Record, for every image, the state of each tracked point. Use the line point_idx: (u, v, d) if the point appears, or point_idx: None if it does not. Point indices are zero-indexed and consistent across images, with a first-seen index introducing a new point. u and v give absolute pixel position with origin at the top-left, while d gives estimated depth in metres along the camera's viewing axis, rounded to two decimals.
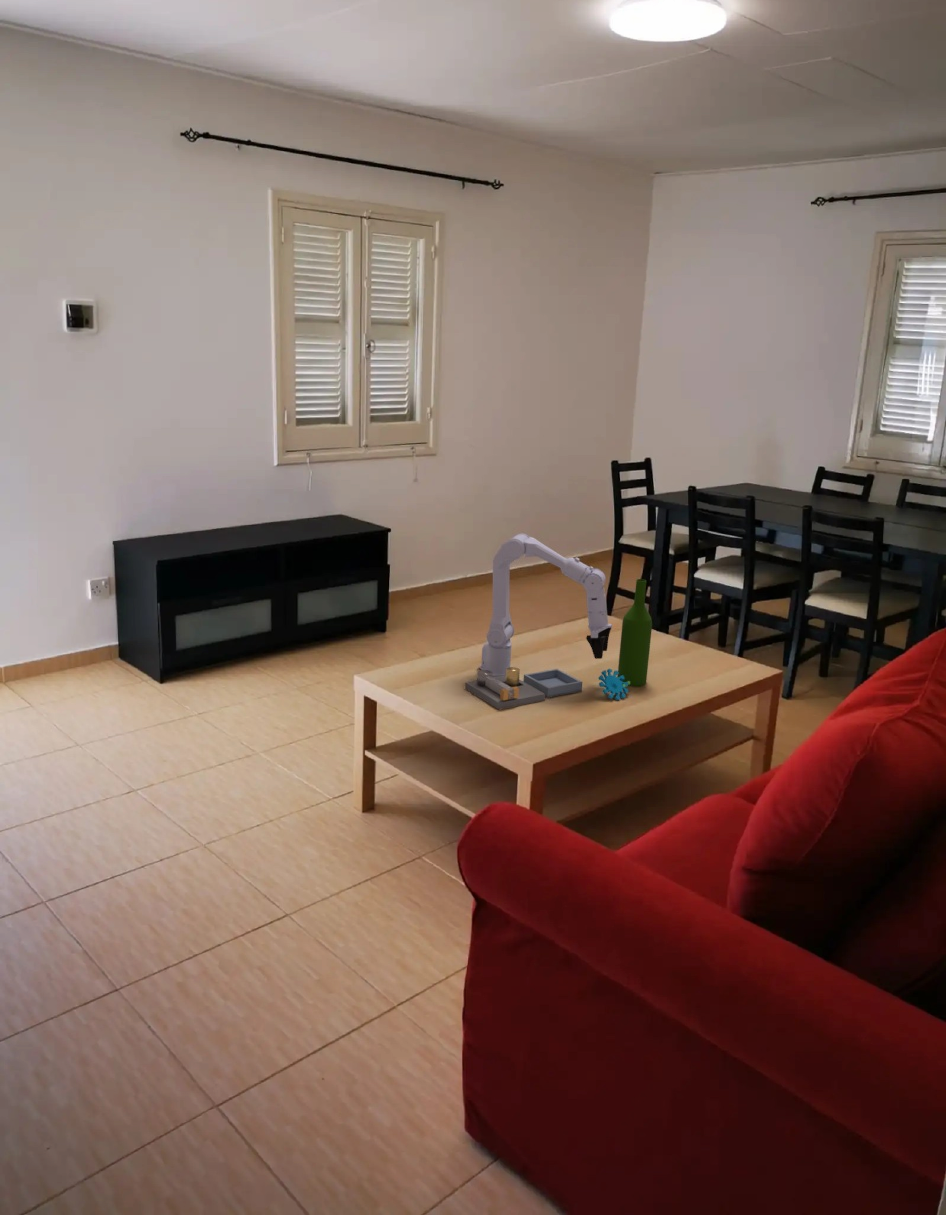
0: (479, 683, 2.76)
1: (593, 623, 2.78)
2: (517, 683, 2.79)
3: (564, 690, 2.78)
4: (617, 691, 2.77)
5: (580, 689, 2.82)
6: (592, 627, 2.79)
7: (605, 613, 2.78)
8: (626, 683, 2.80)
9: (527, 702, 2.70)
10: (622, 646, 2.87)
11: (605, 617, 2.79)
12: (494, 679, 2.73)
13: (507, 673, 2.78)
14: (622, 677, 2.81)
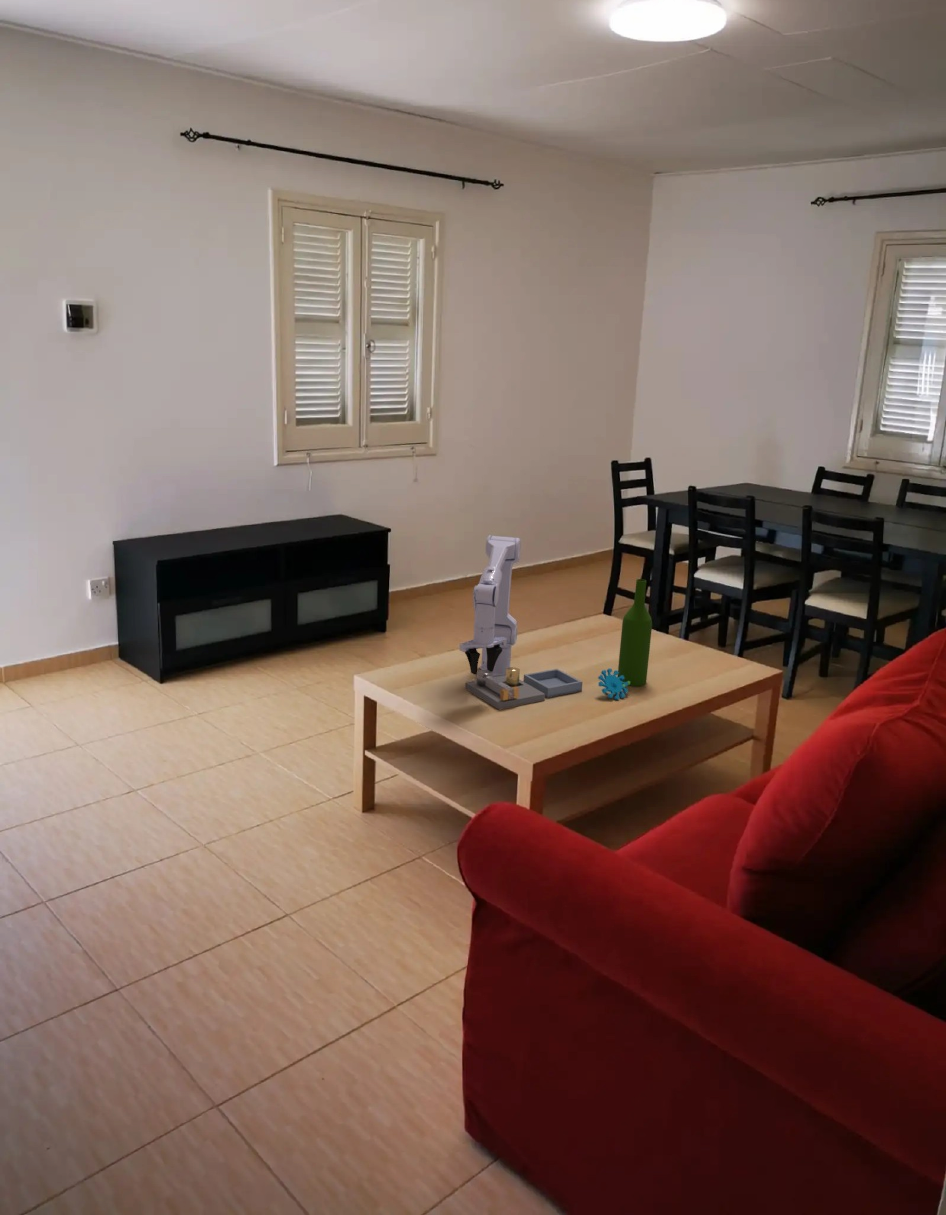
0: (479, 683, 2.76)
1: None
2: (517, 683, 2.79)
3: (564, 690, 2.78)
4: (617, 691, 2.77)
5: (580, 689, 2.82)
6: (473, 641, 2.64)
7: (486, 631, 2.61)
8: (626, 683, 2.80)
9: (527, 702, 2.70)
10: (622, 646, 2.87)
11: (485, 635, 2.61)
12: (494, 679, 2.73)
13: (507, 673, 2.78)
14: (622, 677, 2.81)
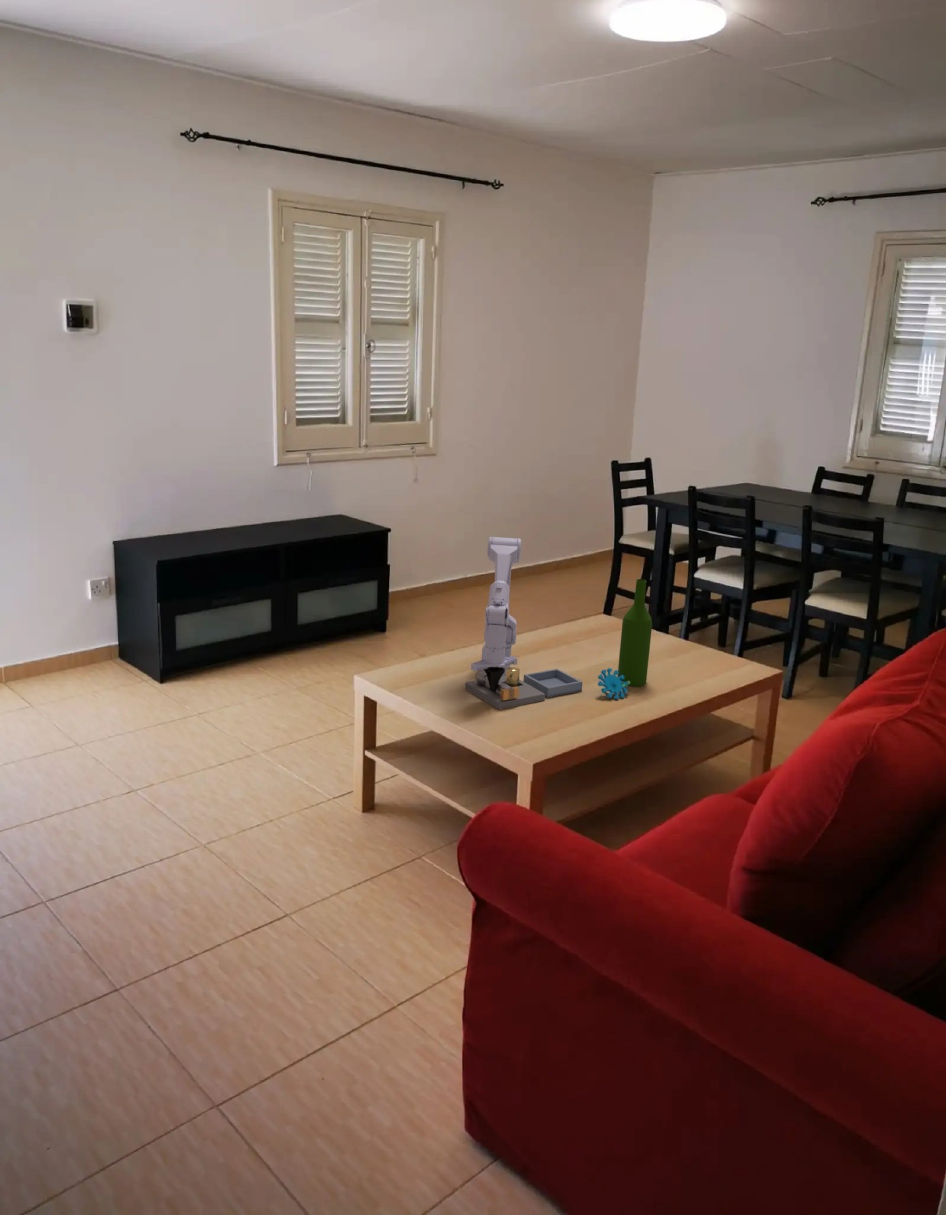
0: (479, 683, 2.76)
1: (485, 656, 2.67)
2: (517, 683, 2.79)
3: (564, 690, 2.78)
4: (616, 691, 2.77)
5: (580, 689, 2.82)
6: (484, 660, 2.68)
7: (497, 651, 2.65)
8: (626, 683, 2.80)
9: (527, 702, 2.70)
10: (622, 646, 2.87)
11: (496, 655, 2.65)
12: None
13: (507, 673, 2.78)
14: (622, 677, 2.81)
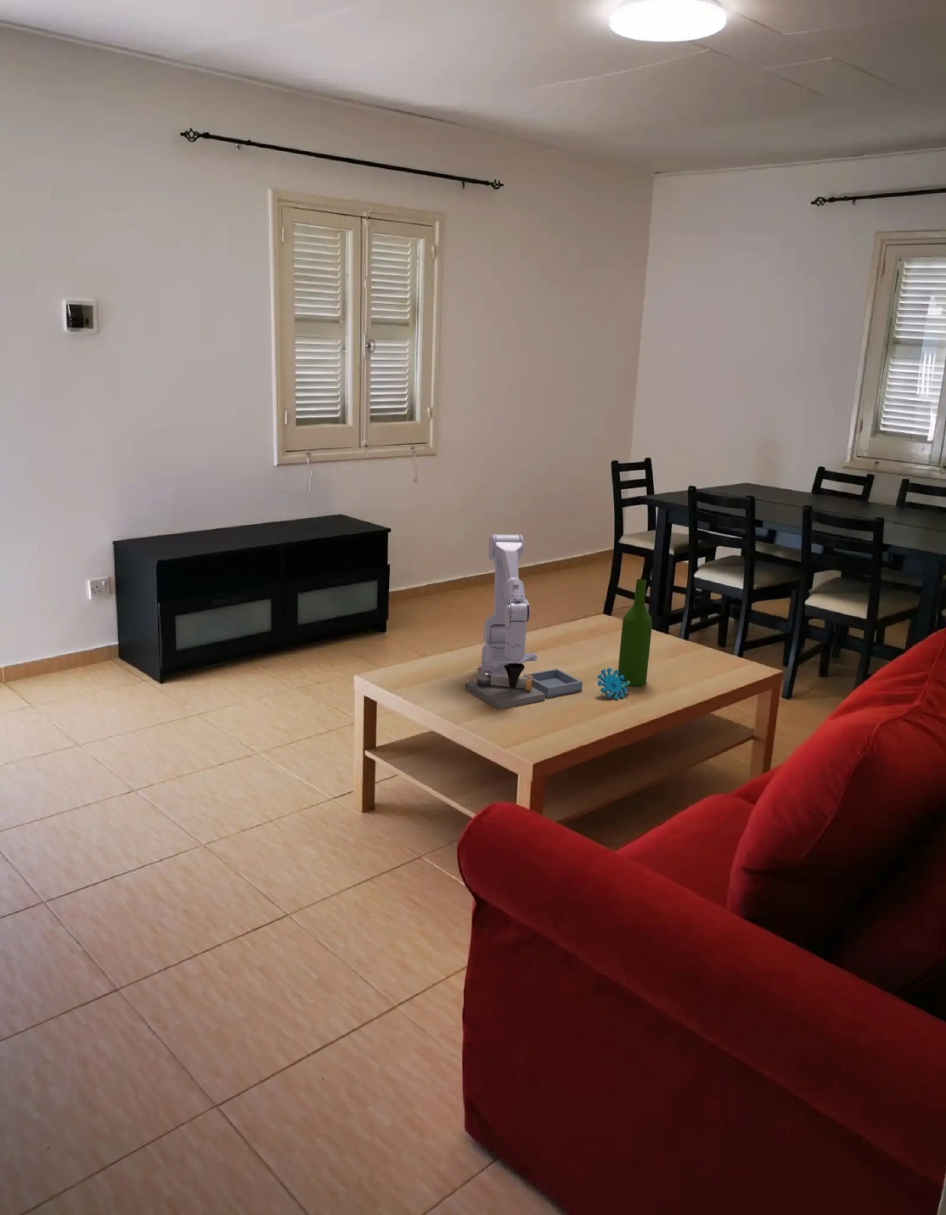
0: (485, 684, 2.76)
1: (505, 653, 2.71)
2: None
3: (564, 690, 2.78)
4: (616, 690, 2.78)
5: (580, 689, 2.82)
6: (504, 657, 2.71)
7: (517, 647, 2.68)
8: (626, 683, 2.81)
9: (527, 702, 2.70)
10: (622, 646, 2.87)
11: (516, 651, 2.68)
12: (501, 675, 2.77)
13: None
14: (622, 677, 2.81)
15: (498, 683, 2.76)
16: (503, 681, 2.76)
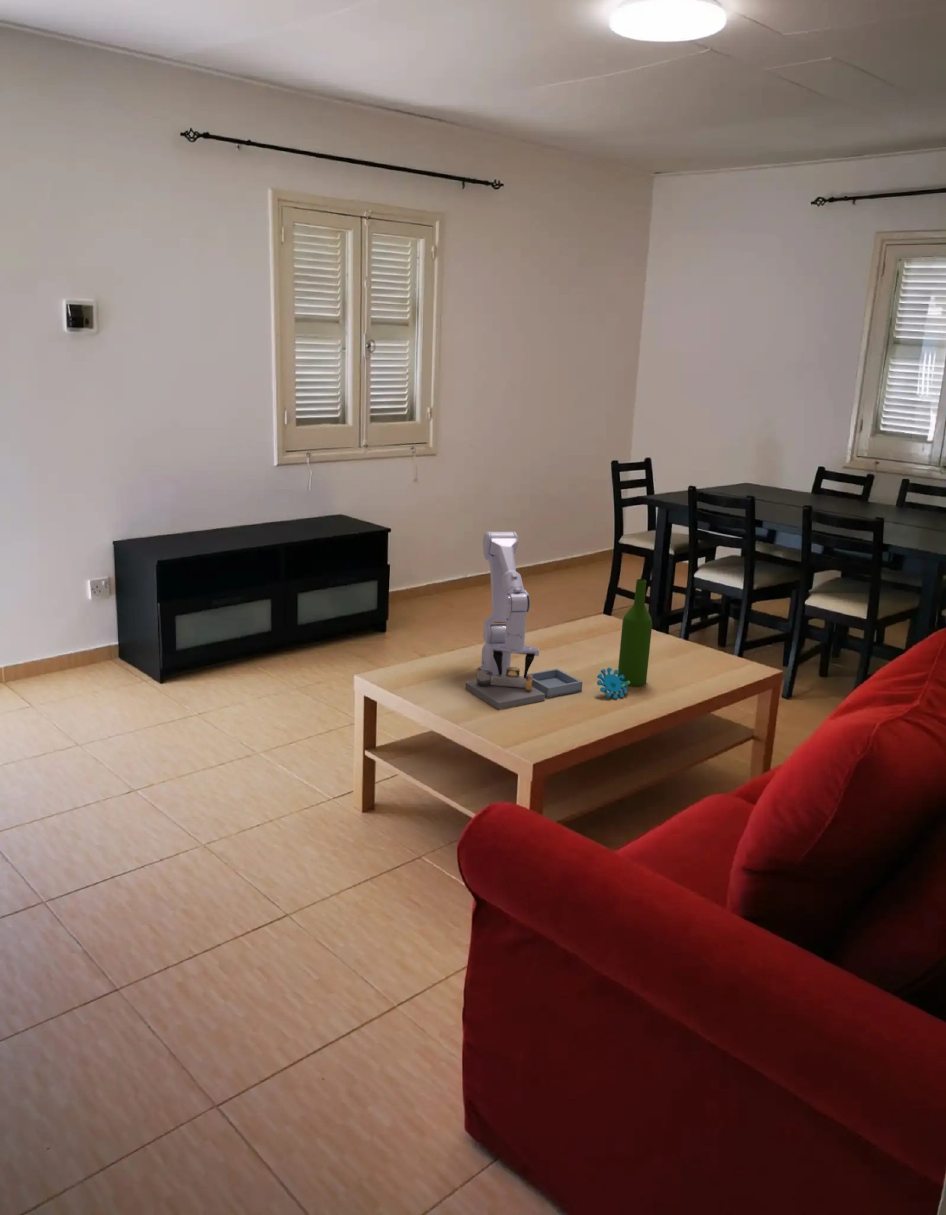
0: (485, 684, 2.76)
1: None
2: None
3: (564, 690, 2.78)
4: (615, 690, 2.78)
5: (580, 689, 2.82)
6: None
7: (510, 637, 2.74)
8: (626, 683, 2.81)
9: (527, 702, 2.70)
10: (622, 646, 2.87)
11: (510, 641, 2.74)
12: (501, 675, 2.77)
13: (507, 673, 2.78)
14: (622, 676, 2.81)
15: (498, 683, 2.77)
16: (503, 681, 2.76)
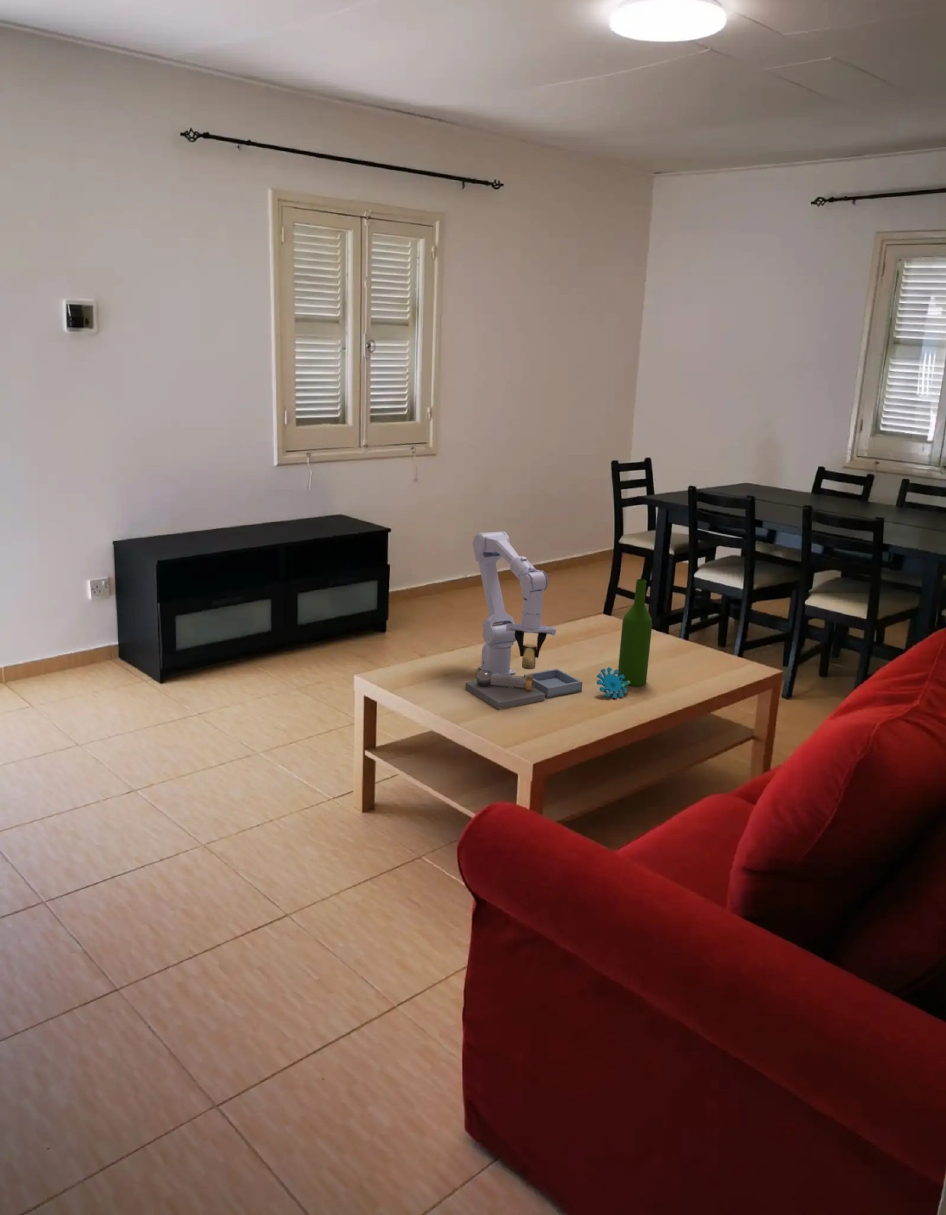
0: (485, 684, 2.76)
1: None
2: (534, 660, 2.78)
3: (564, 690, 2.78)
4: (615, 690, 2.78)
5: (580, 689, 2.82)
6: None
7: (527, 616, 2.73)
8: (625, 682, 2.81)
9: (527, 702, 2.70)
10: (622, 646, 2.87)
11: (526, 620, 2.74)
12: (501, 675, 2.77)
13: (524, 650, 2.77)
14: (622, 676, 2.81)
15: (498, 683, 2.77)
16: (503, 681, 2.76)
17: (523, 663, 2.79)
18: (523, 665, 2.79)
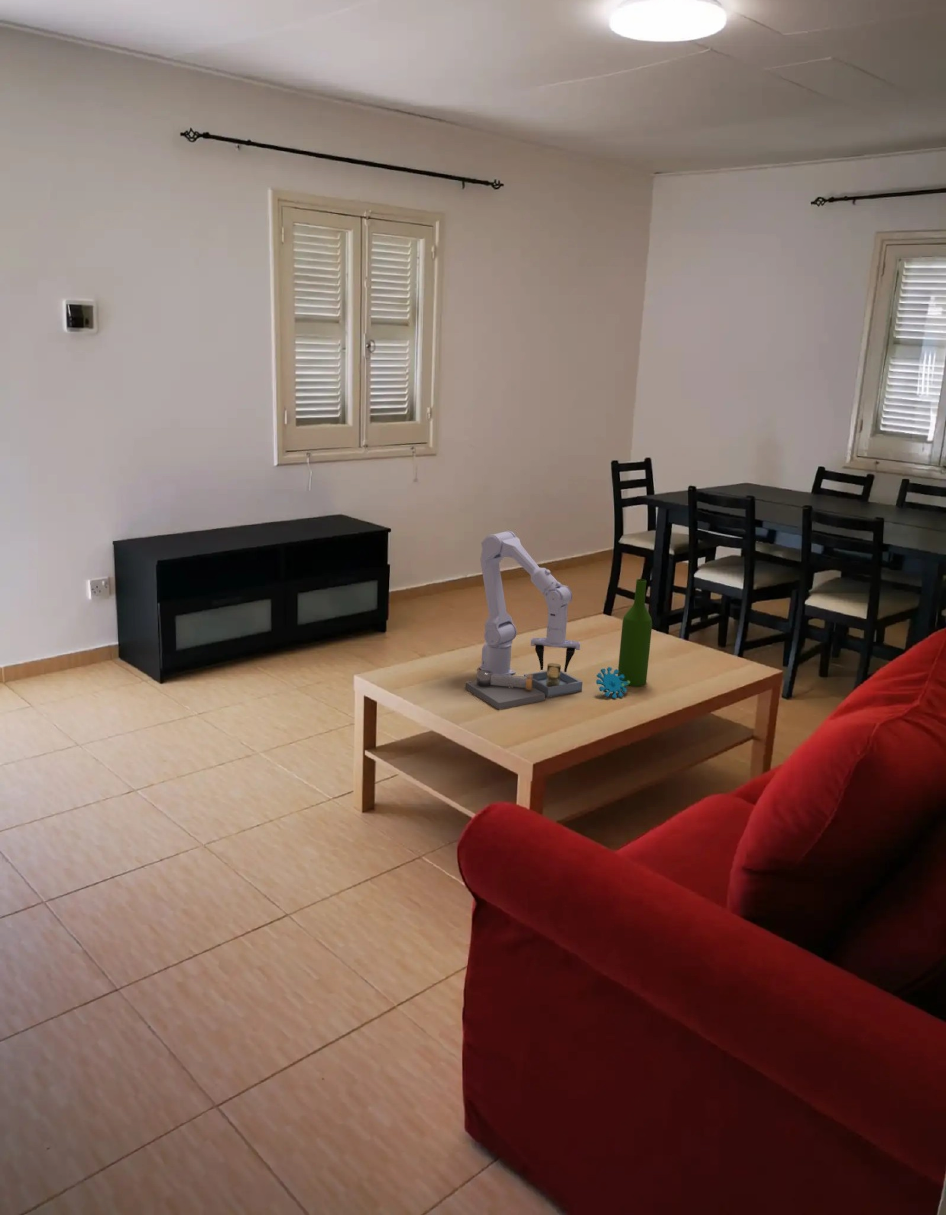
0: (485, 684, 2.76)
1: None
2: (558, 679, 2.82)
3: (564, 690, 2.78)
4: (614, 690, 2.78)
5: (580, 689, 2.82)
6: None
7: (552, 631, 2.77)
8: (625, 682, 2.81)
9: (527, 702, 2.70)
10: (622, 646, 2.87)
11: (551, 634, 2.77)
12: (501, 675, 2.77)
13: (548, 669, 2.81)
14: (622, 676, 2.82)
15: (498, 683, 2.77)
16: (503, 681, 2.76)
17: (547, 682, 2.82)
18: (547, 684, 2.83)
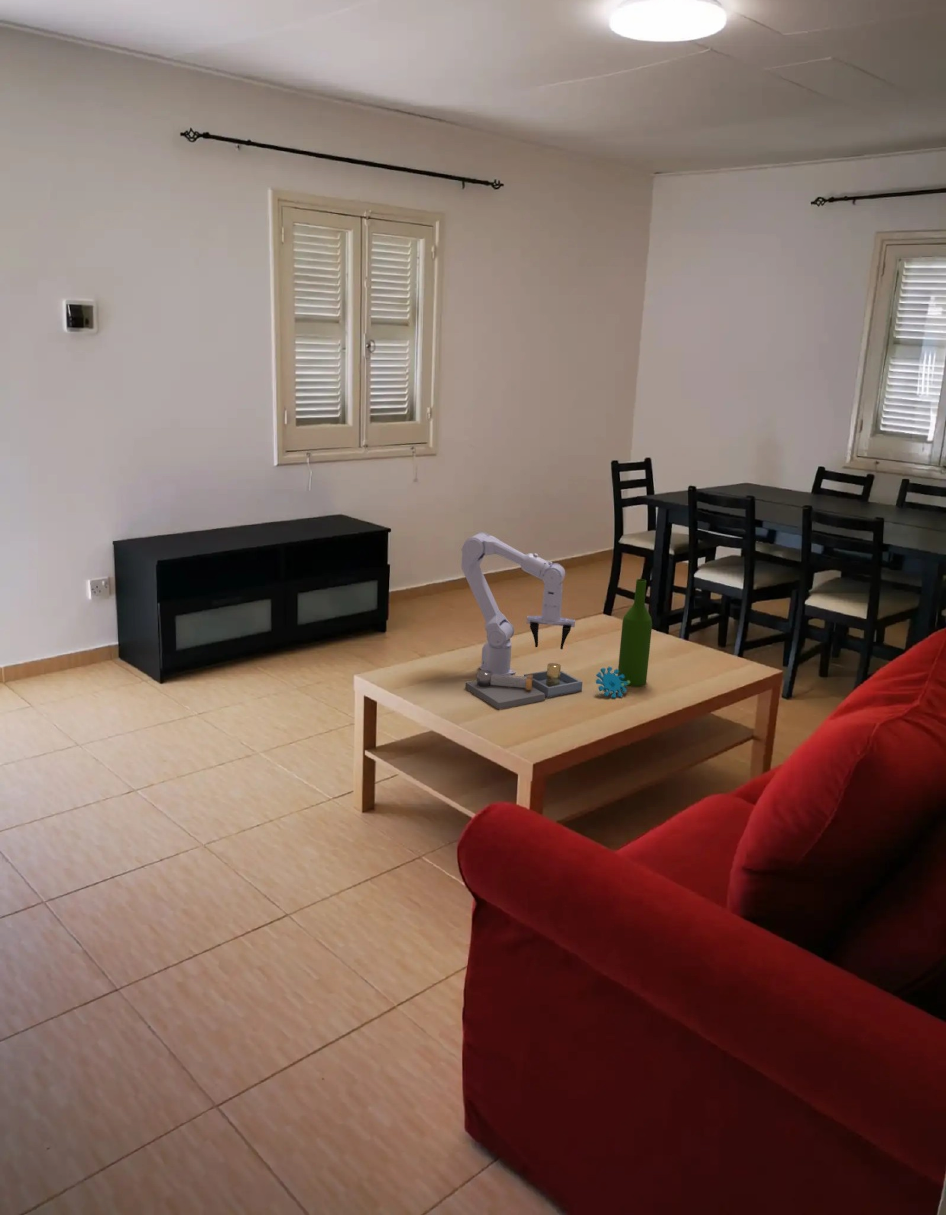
0: (485, 684, 2.76)
1: None
2: (558, 679, 2.82)
3: (564, 690, 2.78)
4: (614, 689, 2.78)
5: (580, 689, 2.82)
6: None
7: (548, 608, 2.82)
8: (625, 682, 2.81)
9: (527, 702, 2.70)
10: (622, 646, 2.87)
11: (547, 612, 2.82)
12: (501, 675, 2.77)
13: (548, 669, 2.81)
14: (622, 676, 2.82)
15: (498, 683, 2.77)
16: (503, 681, 2.76)
17: (547, 682, 2.82)
18: (547, 684, 2.83)
